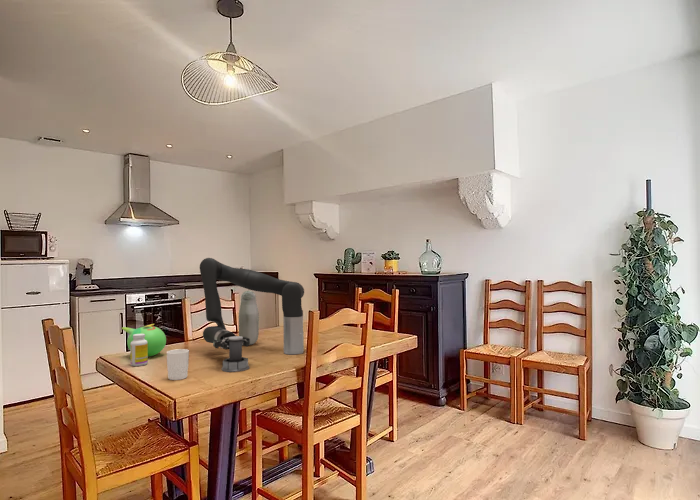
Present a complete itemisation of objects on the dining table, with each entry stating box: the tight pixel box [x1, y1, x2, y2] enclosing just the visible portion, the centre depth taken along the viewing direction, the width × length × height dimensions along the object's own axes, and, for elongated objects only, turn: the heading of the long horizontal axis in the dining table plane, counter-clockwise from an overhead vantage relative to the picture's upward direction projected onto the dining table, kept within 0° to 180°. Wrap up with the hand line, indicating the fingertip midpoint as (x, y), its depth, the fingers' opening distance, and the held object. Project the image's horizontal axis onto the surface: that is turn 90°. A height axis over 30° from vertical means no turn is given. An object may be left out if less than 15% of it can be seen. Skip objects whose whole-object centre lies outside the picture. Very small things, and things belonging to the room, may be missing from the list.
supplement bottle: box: [129, 334, 149, 367], centre depth 185 cm, size 7×7×13 cm
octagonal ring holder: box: [221, 356, 250, 373], centre depth 177 cm, size 11×11×4 cm
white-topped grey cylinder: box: [228, 335, 243, 362], centre depth 177 cm, size 6×6×12 cm
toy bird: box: [121, 323, 167, 357], centre depth 201 cm, size 18×17×15 cm
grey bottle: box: [238, 290, 260, 346], centre depth 226 cm, size 10×10×28 cm
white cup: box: [166, 348, 190, 381], centre depth 164 cm, size 8×8×10 cm
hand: (236, 345), depth 175 cm, fingers open, 8 cm apart
